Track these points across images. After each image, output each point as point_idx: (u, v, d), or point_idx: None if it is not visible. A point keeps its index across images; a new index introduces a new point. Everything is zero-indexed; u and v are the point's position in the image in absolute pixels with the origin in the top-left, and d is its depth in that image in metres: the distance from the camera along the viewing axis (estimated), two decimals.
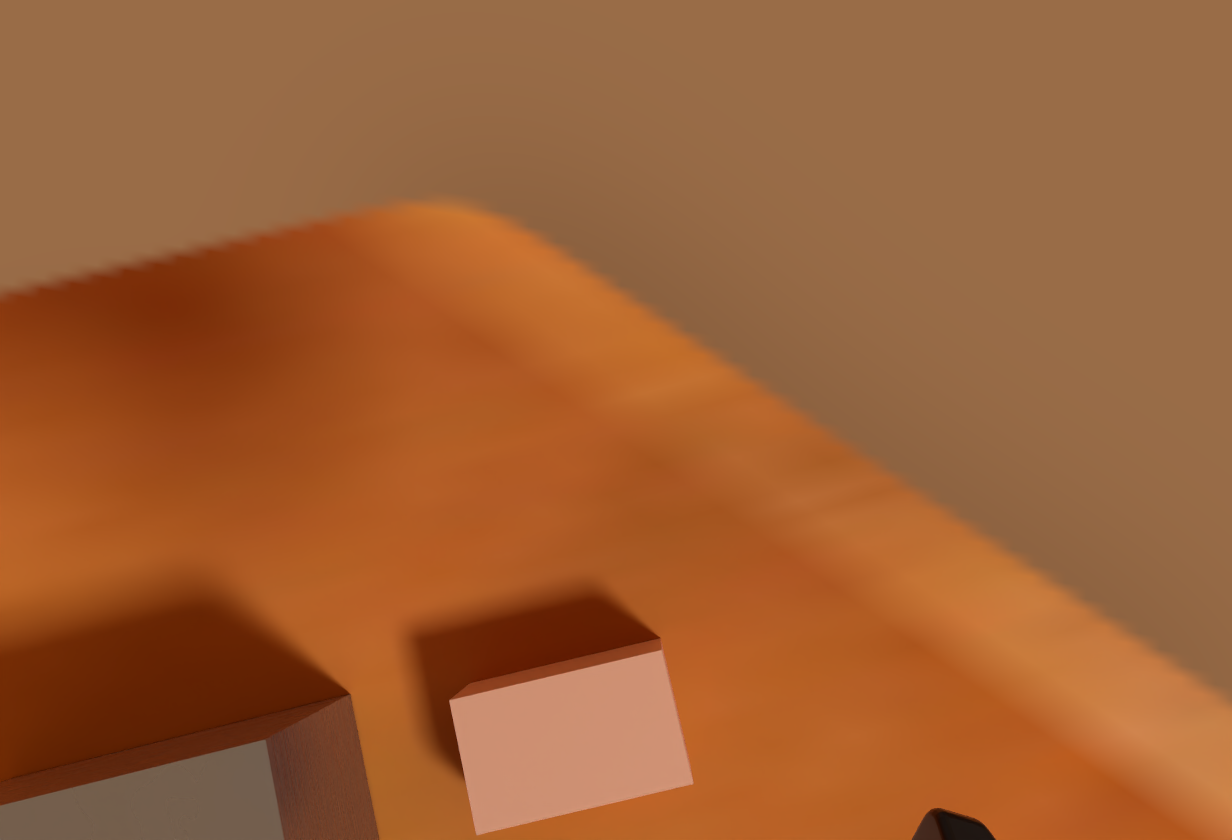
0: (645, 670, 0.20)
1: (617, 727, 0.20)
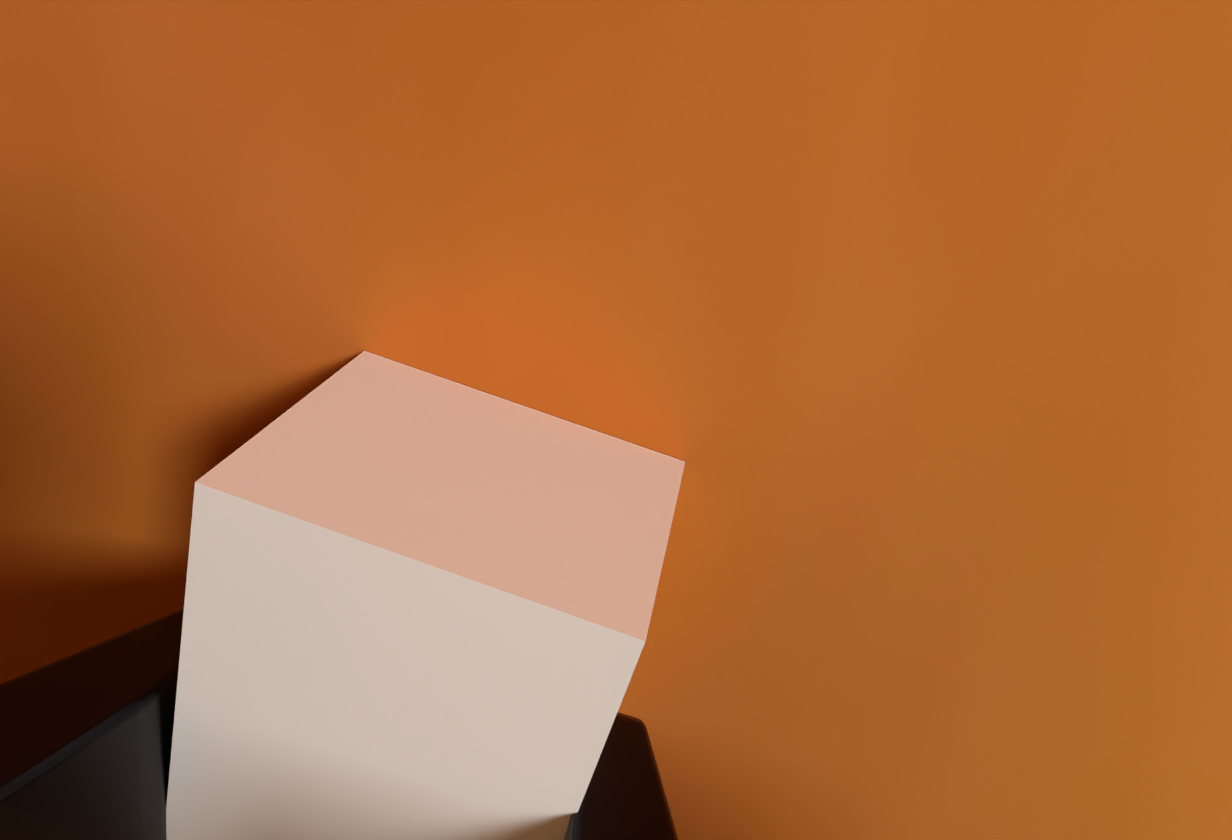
0: None
1: None
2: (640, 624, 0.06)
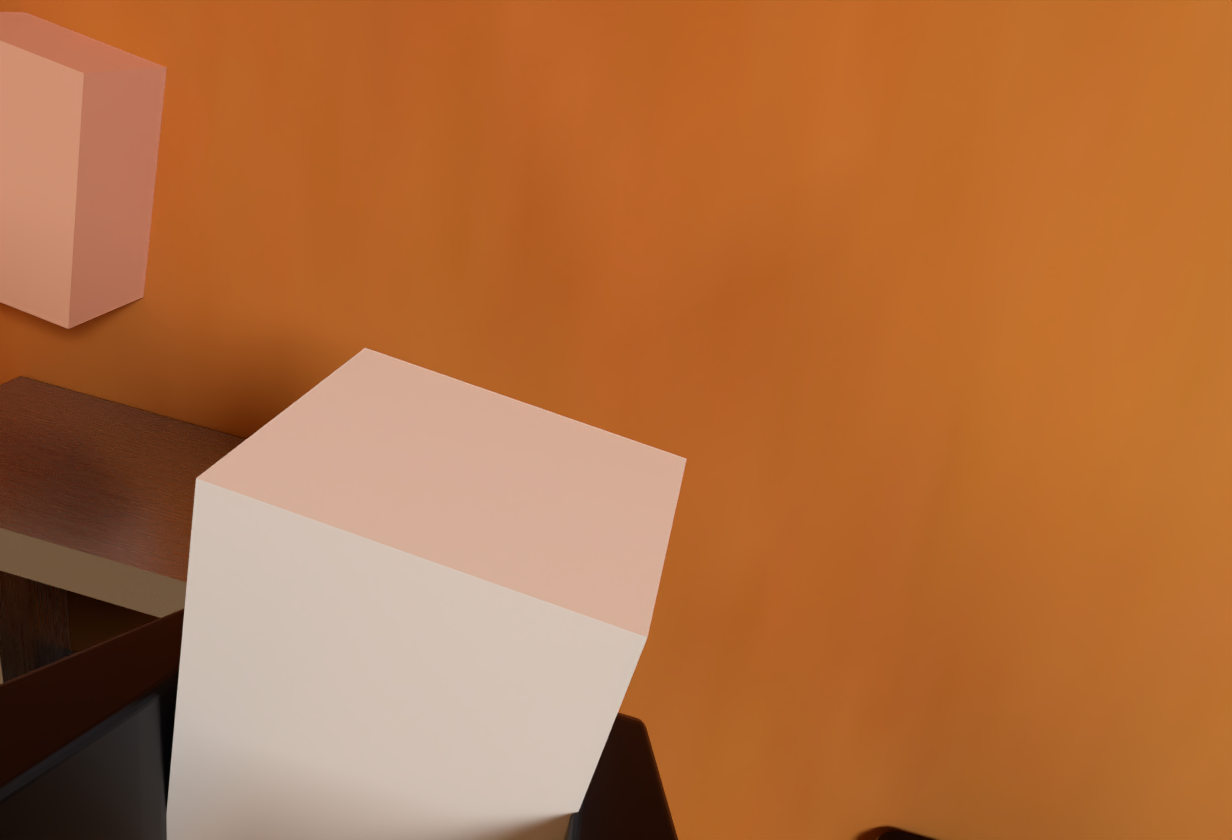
0: None
1: None
2: (642, 620, 0.06)
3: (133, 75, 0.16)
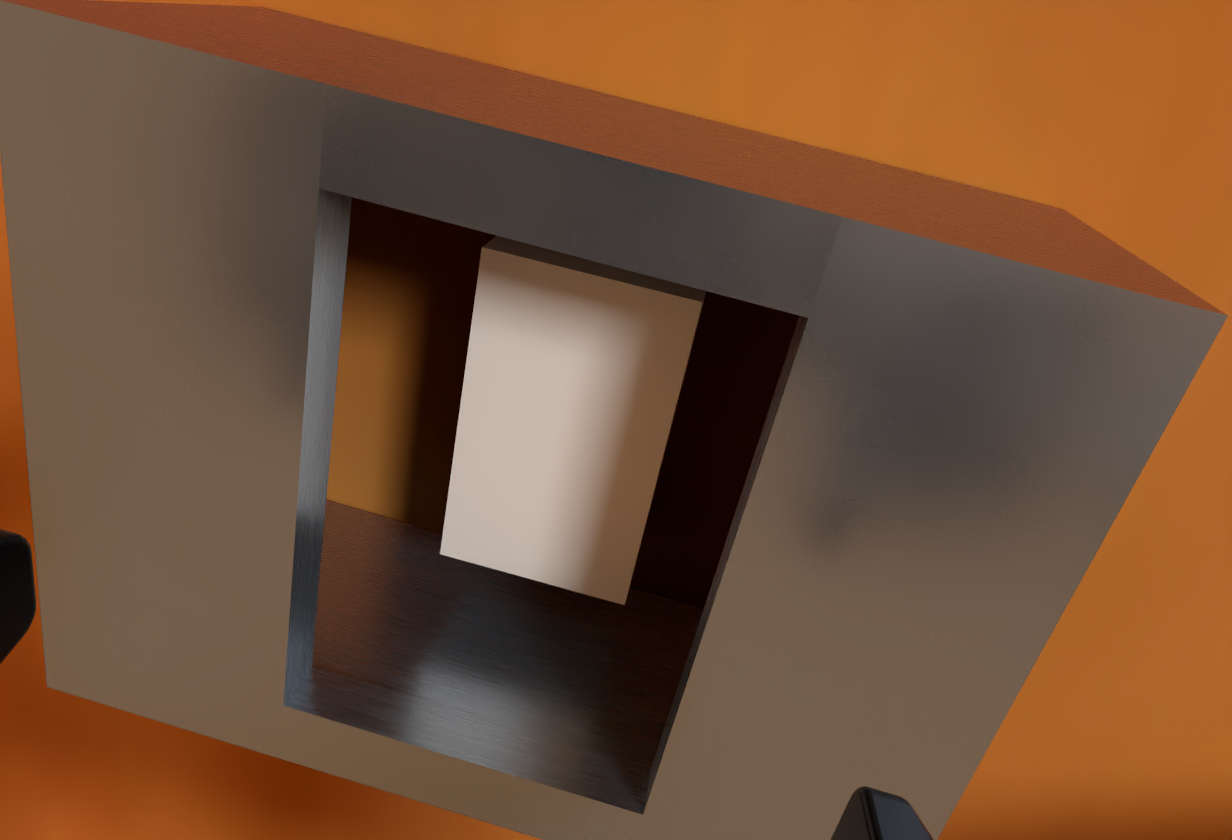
0: None
1: None
2: (699, 298, 0.12)
3: None
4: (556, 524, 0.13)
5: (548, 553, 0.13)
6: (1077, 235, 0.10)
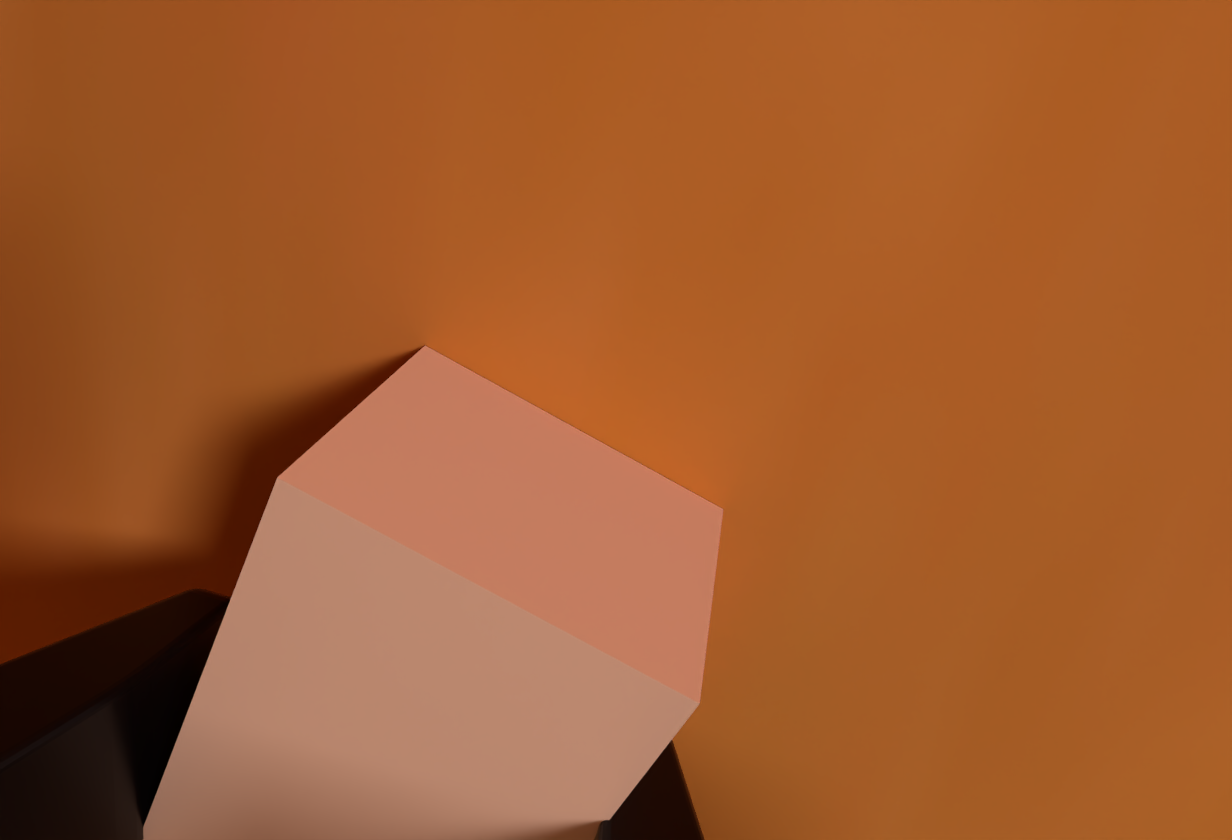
0: (306, 558, 0.06)
1: (405, 726, 0.06)
2: None
3: None
4: None
5: None
6: None
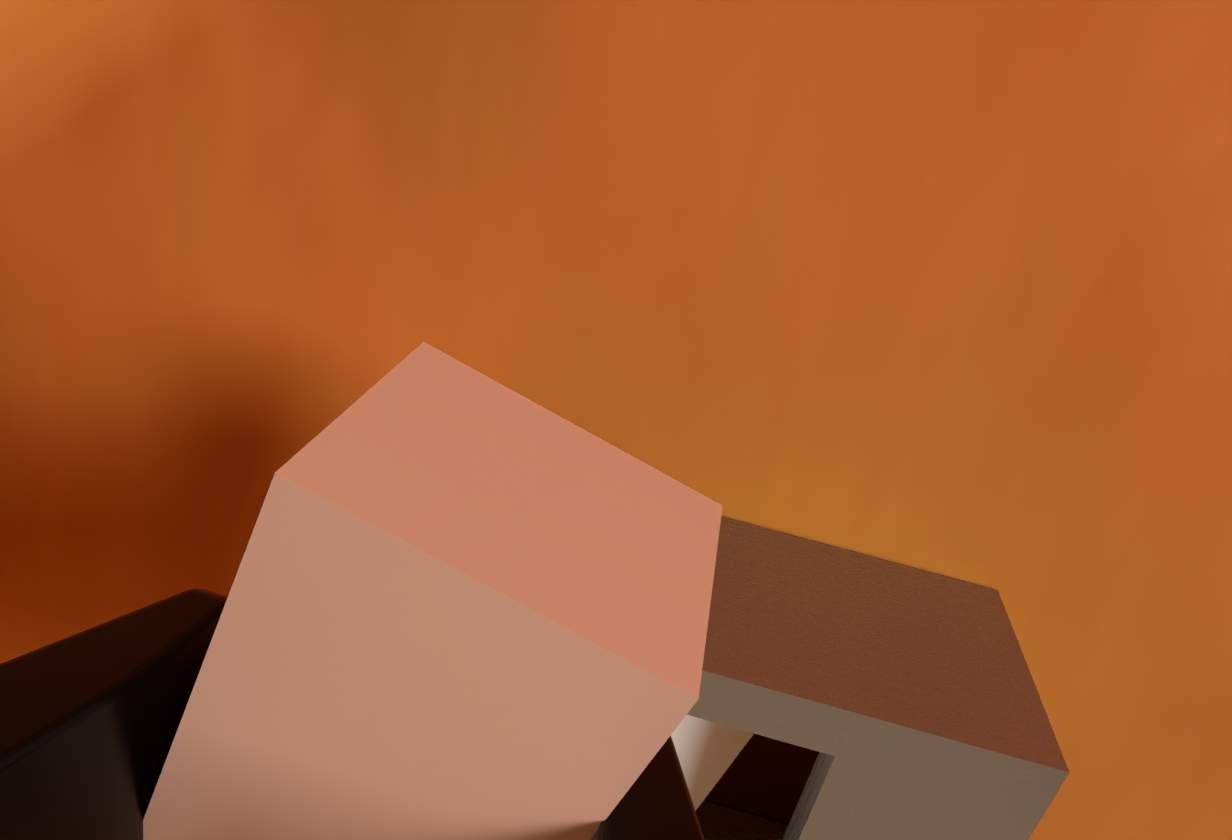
0: (305, 553, 0.06)
1: (402, 723, 0.06)
2: None
3: None
4: None
5: None
6: (998, 653, 0.17)
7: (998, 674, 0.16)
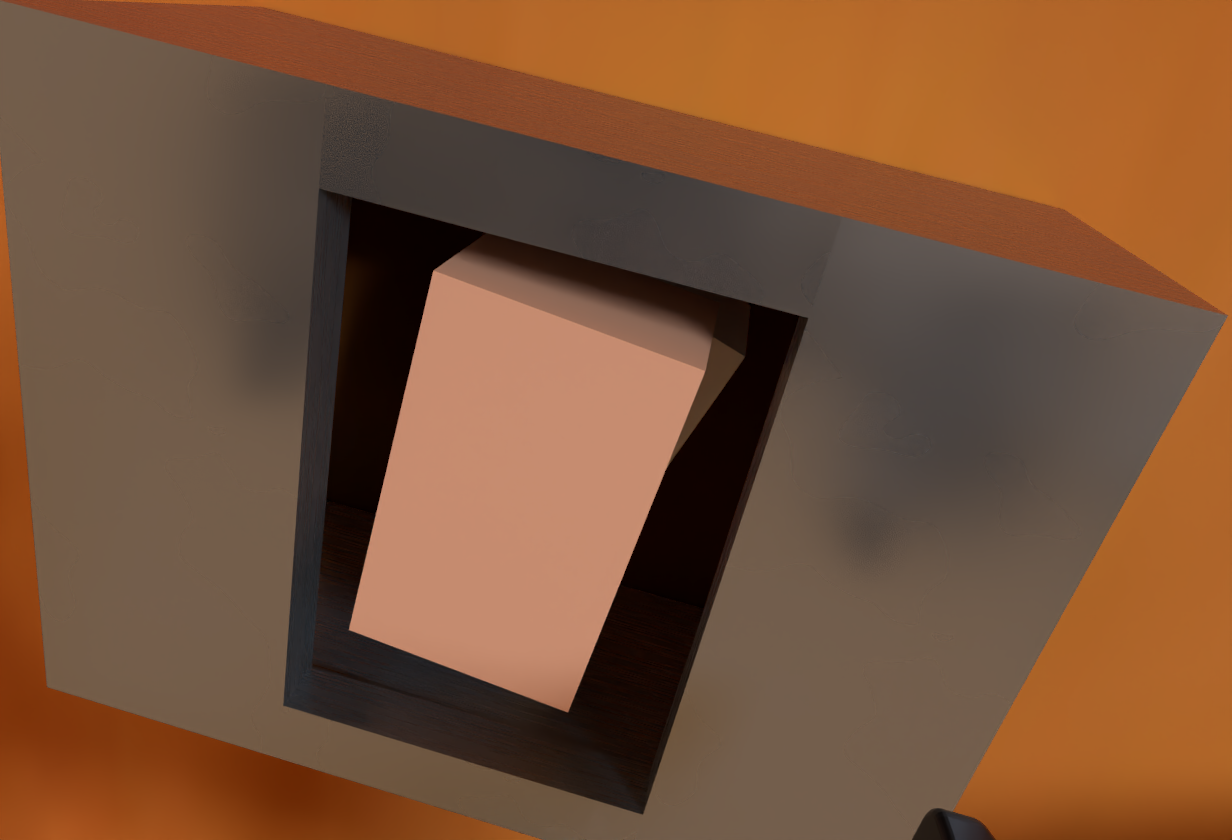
0: (455, 323, 0.09)
1: (527, 431, 0.10)
2: (741, 351, 0.12)
3: None
4: None
5: None
6: (1077, 235, 0.10)
7: (1081, 244, 0.10)
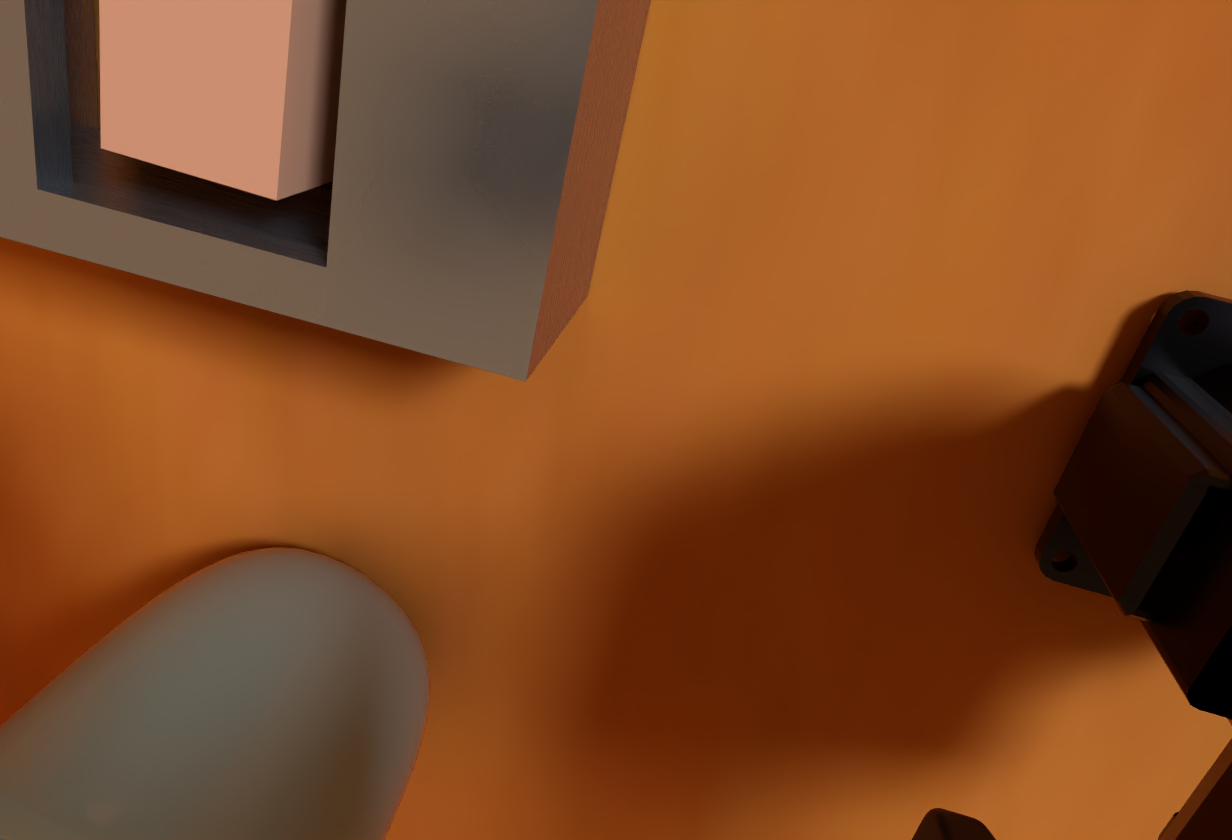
0: None
1: None
2: None
3: None
4: None
5: None
6: None
7: None
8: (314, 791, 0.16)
